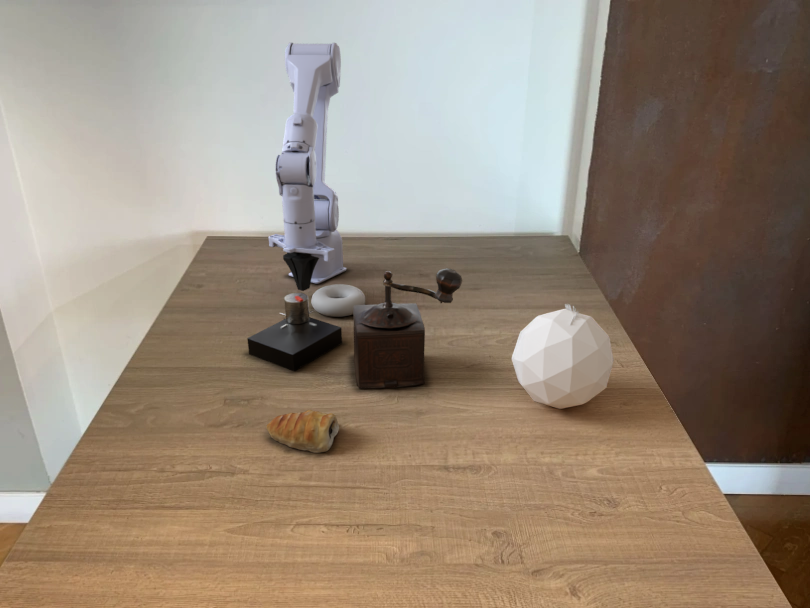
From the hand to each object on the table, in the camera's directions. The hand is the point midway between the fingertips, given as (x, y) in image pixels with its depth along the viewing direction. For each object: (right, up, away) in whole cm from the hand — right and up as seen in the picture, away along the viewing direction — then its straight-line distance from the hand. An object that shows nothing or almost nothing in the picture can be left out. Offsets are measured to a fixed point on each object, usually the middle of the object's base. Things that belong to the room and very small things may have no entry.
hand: (303, 288), depth 141 cm
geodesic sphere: (+40, -20, -33) cm, 56 cm away
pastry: (+5, -25, -41) cm, 48 cm away
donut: (+7, -4, -4) cm, 9 cm away
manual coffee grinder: (+18, -16, -25) cm, 35 cm away
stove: (0, -11, -17) cm, 20 cm away
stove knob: (+1, -7, -15) cm, 17 cm away
